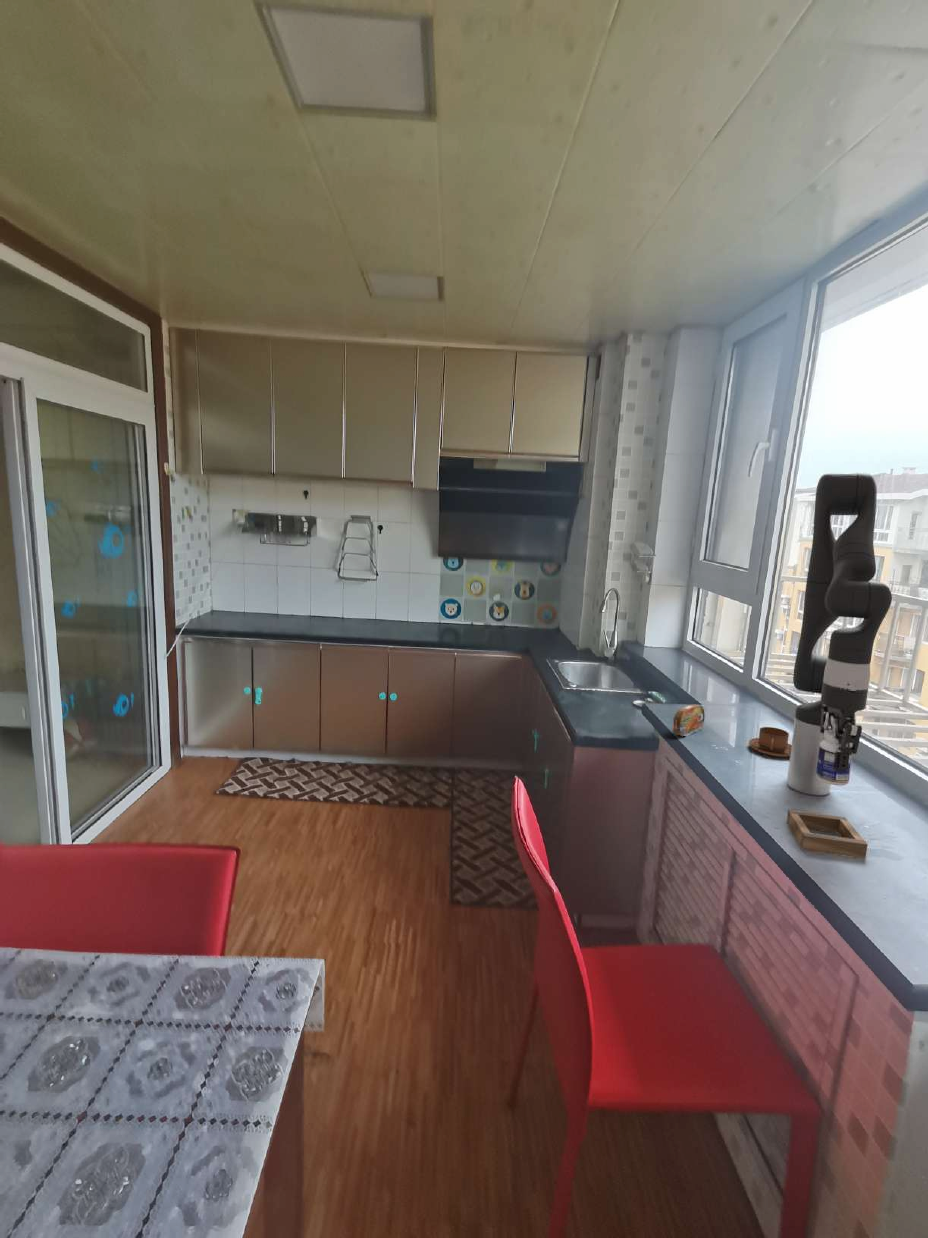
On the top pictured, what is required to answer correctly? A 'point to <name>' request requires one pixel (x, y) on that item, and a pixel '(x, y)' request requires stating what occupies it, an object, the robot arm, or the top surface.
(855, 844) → the socket block
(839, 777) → the pill bottle
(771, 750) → the cup and saucer
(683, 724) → the tin
